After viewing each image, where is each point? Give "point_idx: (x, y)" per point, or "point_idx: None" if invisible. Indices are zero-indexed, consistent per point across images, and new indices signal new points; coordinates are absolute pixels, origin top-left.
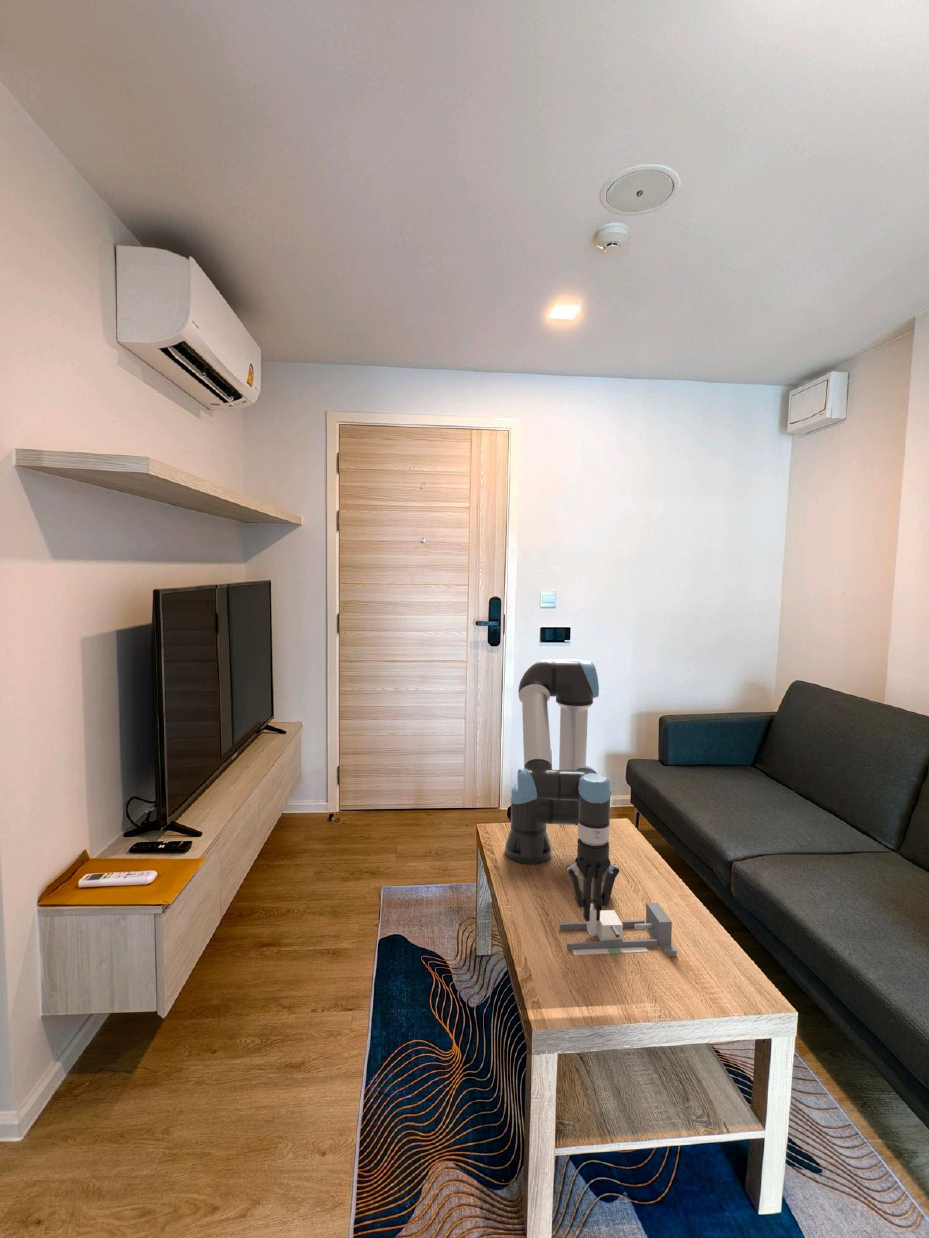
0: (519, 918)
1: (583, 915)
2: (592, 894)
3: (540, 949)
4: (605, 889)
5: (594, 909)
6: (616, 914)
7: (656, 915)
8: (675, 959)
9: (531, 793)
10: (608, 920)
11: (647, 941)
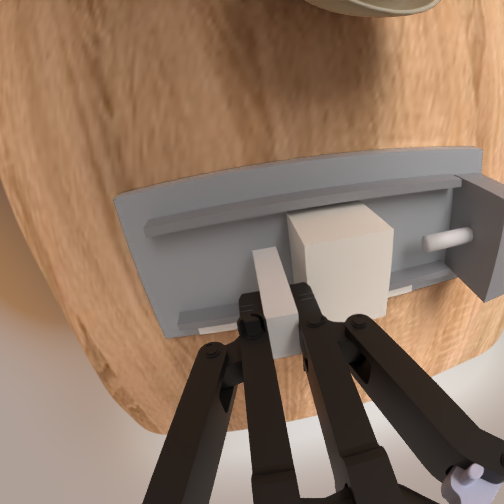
0: (25, 157)
1: (239, 304)
2: (319, 7)
3: (106, 294)
4: (385, 399)
5: (292, 352)
6: (390, 259)
7: (495, 271)
8: (451, 279)
9: None
10: (343, 303)
11: (425, 280)
